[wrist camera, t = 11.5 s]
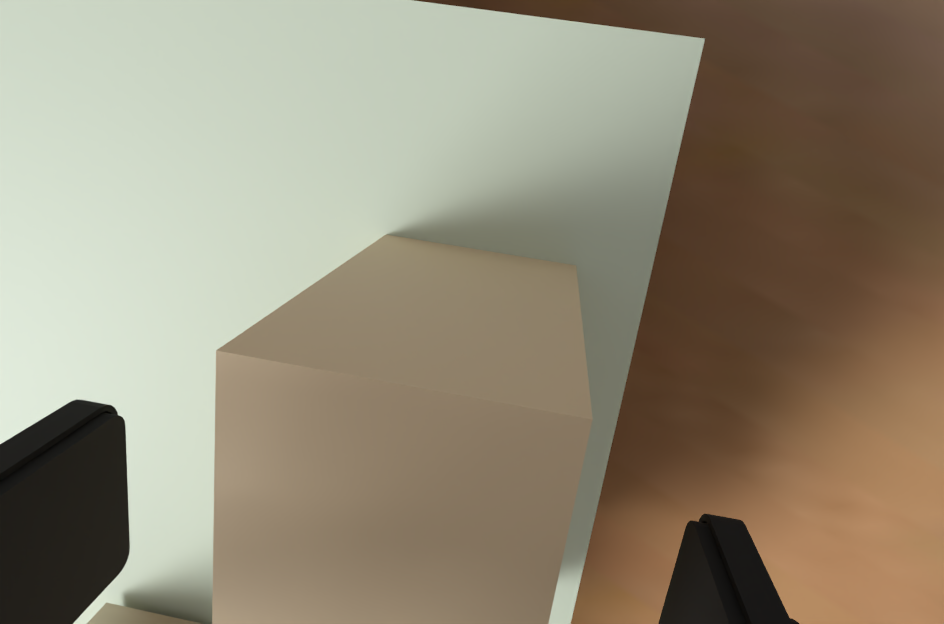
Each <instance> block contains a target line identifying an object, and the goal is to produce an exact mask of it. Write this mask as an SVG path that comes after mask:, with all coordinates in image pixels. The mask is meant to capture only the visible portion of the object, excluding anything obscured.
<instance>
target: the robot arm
mask: <svg viewBox="0 0 944 624" xmlns="http://www.w3.org/2000/svg"><path fill="white" fill-rule="evenodd" d="M129 552H130V539H129V511H128V483H127V455H126V427H125V421H124V419H123V417H121V416H119V415H118V413H117V411H116V409H115V407H113V406H112V405H108V404H102V403H97V402H91V401H86V400H78V399H76V400H73V401H71V402H69V403H67V404H66V405H64V406H63V407H61V408H59V409H58V410H56V411H54V412H53V413H51V414H49V415H48V416H46V417H44V418H43V419H41V420H39V421H38V422H36V423H34V424H33V425H31V426H29V427H28V428H26V429H25V430H23V431H21V432H20V433H18V434H16V435H15V436H13V437H11V438H10V439H8V440H6V441H5V442H3V443H1V444H0V624H73V623H74V622H75V621H76V620H77V619H78V618H79V616H80V615H81V614H82V613H83V612H84V611H85V610H86V609H87V608H88V607H89V606H90V605H91V604H92V603H93V601H94V600H95V599H96V598H97V597H98V596H99V595H100V594H101V593H102V592H103V591H104V590H105V589H106V587H107V586H108V585H109V584H110V583H111V582H112V581H113V580H114V579H115V578H116V577H117V576H118V575H119V573H120V572H121V571H122V570H123V568H124V566H125V564H126V562H127V560H128V556H129ZM659 624H799V623H798V622H796V621H795V620H793V619H790V618H789V616H788V614H787V612H786V610H785V608H784V606H783V604H782V601H781V599H780V597H779V595H778V593H777V591H776V589H775V587H774V585H773V582H772V580H771V578H770V576H769V574H768V572H767V570H766V568H765V566H764V564H763V561H762V559H761V557H760V555H759V553H758V551H757V549H756V547H755V545H754V542H753V540H752V538H751V536H750V534H749V532H748V530H747V528H746V526H745V524H744V523H743V521H741V520H737V519H732V518H726V517H721V516H715V515H710V514H703V515H702V516H701V518H700V519H699V522H696V521H689V522H688V524H687V526H686V529H685V532H684V536H683V539H682V543H681V546H680V550H679V553H678V557H677V561H676V564H675V568H674V571H673V575H672V578H671V582H670V585H669V589H668V592H667V596H666V599H665V603H664V606H663V610H662V613H661V617H660V620H659Z"/></svg>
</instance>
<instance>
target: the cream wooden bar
mask: <svg viewBox="0 0 944 624" xmlns="http://www.w3.org/2000/svg"><path fill="white" fill-rule="evenodd" d="M87 624H202V623H197V622H193V621H188V620H184V619H179V618H175V617H170V616H166V615H161V614H156V613H152V612H147V611H143V610H138V609H134V608H129V607H125V606H120V605H116V604H111V603H105V605H104V606H103V607H102V608H101V609H100V610H99V611H98V612H97V613H96V614H95V615H94V616H93V617H92V619H91V620H90V621H89V622H88V623H87Z"/></svg>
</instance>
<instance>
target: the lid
mask: <svg viewBox="0 0 944 624" xmlns="http://www.w3.org/2000/svg"><path fill="white" fill-rule="evenodd" d="M704 41H705V39H704V38H696V37H689V36H681V35H673V34H666V33H658V32H651V31H643V30H635V29H628V28H620V27H612V26H605V25H597V24H590V23H582V22H574V21H567V20H559V19H551V18H544V17H536V16H529V15H521V14H513V13H506V12H498V11H490V10H483V9H475V8H468V7H460V6H452V5H445V4H437V3H429V2H422V1H414V0H0V444H1V443H3V442H5V441H6V440H8V439H10V438H11V437H13V436H15V435H16V434H18V433H20V432H21V431H23V430H25V429H26V428H28V427H29V426H31V425H33V424H34V423H36V422H38V421H39V420H41V419H43V418H44V417H46V416H48V415H49V414H51V413H53V412H54V411H56V410H58V409H59V408H61V407H63V406H64V405H66V404H67V403H69V402H71V401H73V400H76V399H78V400H86V401H91V402H97V403H102V404H108V405H112V406H113V407H115V409H116V411H117V413H118V415H119V416H121V417H123V419H124V421H125V427H126V455H127V483H128V511H129V539H130V552H129V556H128V560H127V562H126V564H125V566H124V568H123V570H122V571H121V572H120V573H119V575H118V576H117V577H116V578H115V579H114V580H113V581H112V582H111V583H110V584H109V585H108V586H107V587H106V589H105V590H104V591H103V592H102V593H101V594H100V595H99V596H98V597H97V598H96V599H95V600H94V601H93V603H92V604H91V605H90V606H89V607H88V608H87V609H86V610H85V611H84V612H83V613H82V614H81V615H80V616H79V618H78V619H77V620H76V621H75V622H74V623H73V624H87V623H88V622H89V621H90V620H91V619H92V617H93V616H94V615H95V614H96V613H97V612H98V611H99V610H100V609H101V608H102V607H103V606H104V605H105V603H111V604H116V605H120V606H125V607H129V608H134V609H138V610H143V611H147V612H152V613H156V614H161V615H166V616H170V617H175V618H179V619H184V620H188V621H193V622H197V623H202V624H571V619H572V615H573V611H574V606H575V602H576V598H577V593H578V589H579V585H580V580H581V576H582V572H583V567H584V563H585V559H586V554H587V550H588V545H589V541H590V537H591V532H592V528H593V524H594V519H595V515H596V511H597V506H598V502H599V498H600V493H601V489H602V485H603V480H604V476H605V471H606V467H607V463H608V458H609V454H610V450H611V445H612V441H613V437H614V432H615V428H616V424H617V419H618V415H619V411H620V406H621V402H622V398H623V393H624V389H625V384H626V380H627V376H628V371H629V367H630V363H631V358H632V354H633V350H634V345H635V341H636V337H637V332H638V328H639V324H640V319H641V315H642V311H643V306H644V302H645V297H646V293H647V289H648V284H649V280H650V276H651V271H652V267H653V263H654V258H655V254H656V250H657V245H658V241H659V237H660V232H661V228H662V223H663V219H664V215H665V210H666V206H667V202H668V197H669V193H670V189H671V184H672V180H673V176H674V171H675V167H676V163H677V158H678V154H679V150H680V145H681V141H682V136H683V132H684V128H685V123H686V119H687V115H688V110H689V106H690V102H691V97H692V93H693V89H694V84H695V80H696V76H697V71H698V67H699V63H700V58H701V54H702V49H703V45H704Z"/></svg>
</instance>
